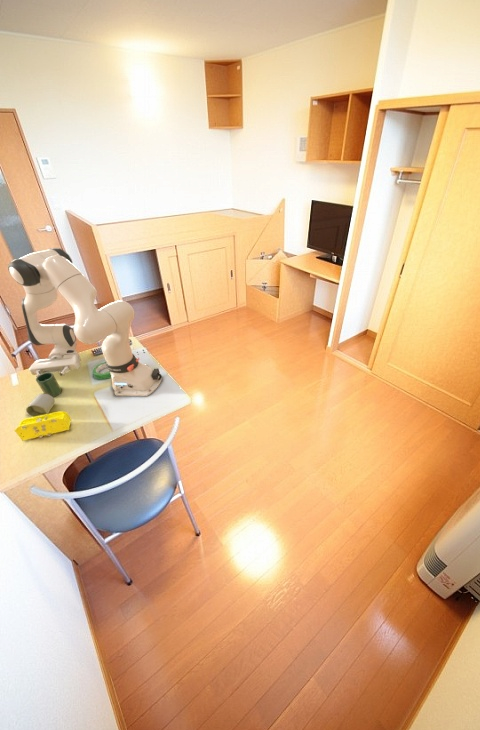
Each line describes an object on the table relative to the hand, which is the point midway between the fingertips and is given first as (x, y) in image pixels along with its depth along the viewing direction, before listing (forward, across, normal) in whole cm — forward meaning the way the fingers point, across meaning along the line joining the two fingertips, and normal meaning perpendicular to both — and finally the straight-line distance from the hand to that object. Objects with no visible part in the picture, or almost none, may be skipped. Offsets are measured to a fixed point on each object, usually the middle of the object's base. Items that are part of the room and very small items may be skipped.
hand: (50, 376), depth 133 cm
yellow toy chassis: (+28, +5, +7) cm, 29 cm away
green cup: (+4, 0, +7) cm, 8 cm away
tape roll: (-6, +21, +7) cm, 23 cm away
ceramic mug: (+15, -1, +7) cm, 17 cm away
